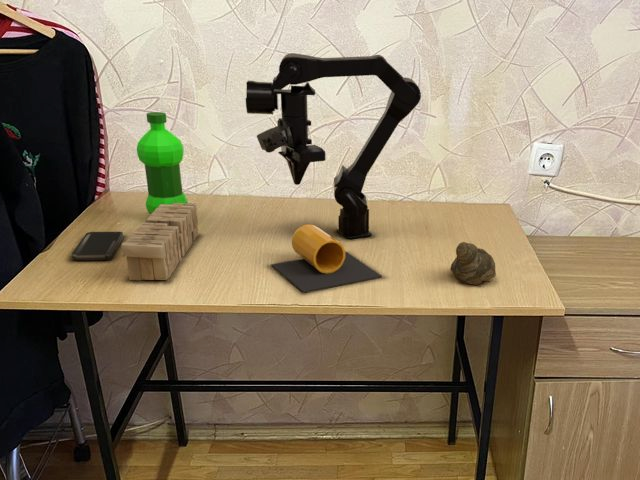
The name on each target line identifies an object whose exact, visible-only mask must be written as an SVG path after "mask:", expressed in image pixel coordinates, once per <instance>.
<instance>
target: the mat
mask: <svg viewBox="0 0 640 480" xmlns="http://www.w3.org/2000/svg"><path fill="white" fill-rule="evenodd" d="M271 267H272V268H273V269H274V270H275V271H276V272H277V273H279V274H280V275H281V276H282V277H283V278H285V279H286V280H287V281H289V282H290V283H291V284H292V285H293V286H294V287H296V288H297V289H298V290H299V291H300V292H301V293H303V294H307V293H311V292H315V291H316V292H317V291H321V290H322V291H323V290H327V289H331V288H332V289H333V288H337V287H342V286H346V285H352V284H356V283H361V282H367V281H371V280H376V279H382V278H383V275H381V274H380V273H378V272H377V271H376V270H374V269H372V268H371V267H369V266H368V265H366V264H365V263H363V262H362V261H360V260H359V259H357V258H356V257H355V256H353V255H352V254H350V253H349V252H347V251H345V260H344V262H343V264H342V266H341V267H340V268H339V269H338V270H336V271H335V272H333V273H328V274H326V273H322V272H320V271H318V270H317V269H316V268H315V267H313V266H312V265H311V264H310V263H308V262H307V261H306V260H304V259H303V258H301V259H295V260H289V261H283V262H277V263H272V264H271Z"/></svg>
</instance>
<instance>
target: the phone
mask: <svg viewBox="0 0 640 480" xmlns="http://www.w3.org/2000/svg"><path fill="white" fill-rule="evenodd" d="M124 239H125V235H124V232H123V231H88V232H86V233H85V234H84V236H83V237H82V239H81V240H80V241H79V242H78V244H77V246H76V247H75V248H74V250H73V251H72V253H71V257H72V260H73V261H81V262H83V261H110V260H112V259H113V258H114V256H115V254H116V252H117V251H118V249H119V247H120V246H121V244H122V243H123V240H124Z"/></svg>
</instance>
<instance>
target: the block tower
mask: <svg viewBox="0 0 640 480" xmlns="http://www.w3.org/2000/svg"><path fill="white" fill-rule="evenodd" d="M197 209H198V208H197V204H196V203H192V202H191V203H190V202H188V203H185V204H184V203H173V204H172V205H165V204H160V205H159V207H158V208H156V209H155V211H154V212H153V213H152V214H150V215H148V217H147V218H146V219H145V221H144V222H142V223H141V224H140V226H139V227H137V228H136V229H135V230H134V232H133V233H132V234H131V235H130V237H129V238H128V239H127V240H126V241H125V242H123V241H122V242H121V244H120V246H121V252H122V253H121V254H122V257H126V266H127V272H128V279H129V281H142V280H148V281H155V280H158V281H159V280H160V281H167V280H169V279H170V278H171V276H172V274H173V273H174V271H175V269H176V268H177V267H178V265H179V263H181V261H182V260H183V259H182V258H183V257H185V255H186V253H187V252H188V250H189V249H190V248H191V246H192V245H193V242H195V241H196V239H197V238H198V237H199V223H198V211H197Z"/></svg>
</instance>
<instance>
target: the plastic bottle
mask: <svg viewBox="0 0 640 480" xmlns="http://www.w3.org/2000/svg"><path fill="white" fill-rule="evenodd" d="M146 121H147V123H148V124H149V127H150V129H149V130H148V131H147V132H146V133H144V134H143V136H142V137H141V138H140V139H139V140H138V142H137V145H136V155H137V157H138V159H139V161H140V163H142V164H143V165H144V171H145V177H146V184H147V193H148V194H147V197H146V201H145V209H146V210H147V212H148V214H150V215H151V214H152V213H153V212H154V211H155V209H156V208H158V207H159V205H160V204H165V205H172V204H173V203H184V204H185V203H189V201H188V198H187V196H186V194H185V192H184V191H183V184H182V183H183V182H182V176H181V175H182V174H181V162H182V161H183V159H184V153H185V152H184V151H185V150H184V144H183V142H182V140H181V139H180V138H178V137H177V136H176V135H175V134H173V133H172V132H171V131H169V130H168V129H167V128H166V123H167V122H168V119H167V114H166V112H162V111H161V112H160V111H150V112H147V113H146Z"/></svg>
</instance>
